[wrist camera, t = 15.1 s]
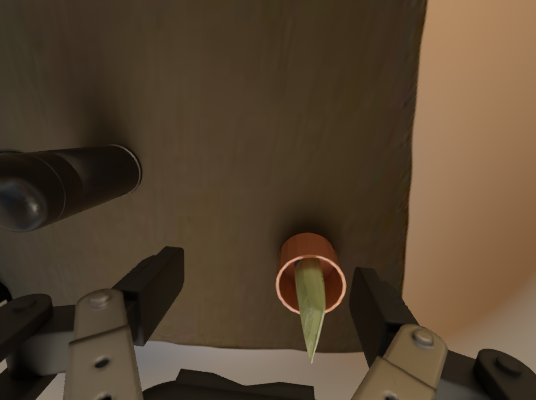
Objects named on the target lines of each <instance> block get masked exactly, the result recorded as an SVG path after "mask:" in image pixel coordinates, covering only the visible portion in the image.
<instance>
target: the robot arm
mask: <svg viewBox="0 0 536 400" xmlns="http://www.w3.org/2000/svg"><path fill="white" fill-rule="evenodd" d="M141 178H142V170H141V165H140V163H139V161H138V159H137V157H136V156H135V155H134V154H133V153H132V152H131V151H130V150H129V149H127V148H126V147H123V146H121V145H116V144H110V145H104V146H93V147H82V148H71V149H60V150H49V151H38V152H28V153H12V152H0V228H2V229H5V230H8V231H13V232H29V231H33V230H36V229H39V228H42V227H44V226H47V225H49V224H52V223H54V222H57V221H59V220H62V219H64V218H67V217H69V216H72V215H74V214H77V213H79V212H82V211H84V210H87V209H89V208H92V207H95V206H97V205H100V204H102V203H105V202H107V201H110V200H112V199H115V198H116V199H117V197H120V196H122V195H123V196H124V195H126V194H129V193H131V192H133V191H134V190H135V189H136V188H137V187H138V186H139V184H140V182H141ZM183 283H184V250H183V248H179V247H169V246H166V247H164V248H163V249H162V250H161V251H160V252H159V253H158V254H157V255H156V256H155V255H153V256H150V257H148V258H146V259H144V260H142V261H141V262H140V263H139V264H138V265H137V266H136V268H133V269H132V270H131V271H130V273H128V274H127V275H126V276H124V277H123V278H122V279H121V280H120V281H119V282H118V283H117V284H115V285H114V286H113V287H112V288H111V289H101V290H97V291H93V292H91V293H89V294H87V295H85V296H83V297H82V298H81V299H80V300H79V301H78V302H77V304H76V305H67V306H56V307H53V306H52V300H51V297H50V296H49V295H46V294H31V295H26V296H22V297H19V298H16V299H14V300H11V301H9V302H7V303H6V304H4V305H2V306H1V307H0V362H2V361H3V360H4V359H6V362H7V368H6V369H5V370H4V371H3V372H2V373H1V374H0V400H36V398H37V397H38V396H39V395H40V394H41V393H42V392H43V390H44V389H45V388H46V387H47V386H48V385H49V384H50V382H51V381H52V380H53V379H54V378H55V377H56V375H57V374H58V373H65V372H66V375H65V385H64V395H63V400H315V398H314V387H313V386H307V385H299V384H292V383H284V382H276V383H267V384H259V385H250V386H245V385H241V384H238V383H236V382H234V381H231V380H229V379H226V378H224V377H221V376H219V375H217V374H214V373H209V372H202V371H193V370H187V369H181V370H180V372H179V374H178V376H177V378H176V381H169V382H165V383H161V384H158V385H156V386H153V387H151V388H148V389H146V390H144V391H143V392H142V389H141V383H140V378H139V373H138V367H137V362H136V356H135V351H134V345H136V346H144V345H145V344H146V342H147V341H148V339H149V338H150V336H151V335H152V333H153V332H154V330H155V329H156V327H157V326H158V324H159V323H160V321H161V320H162V318H163V317H164V315H165V314H166V312H167V311H168V309H169V308H170V306H171V305H172V303H173V302H174V300H175V299H176V297H177V296H178V294H179V293H180V291H181V289H182V287H183ZM349 307H350V312H351V315H352V318H353V321H354V324H355V327H356V330H357V333H358V336H359V339H360V342H361V345H362V348H363V351H364V355H365V358H366V360H367V364H368V366H369V371H368V372H367V374H366V376H365V377H364V379H363V381H362V382H361V384H360V385H359V387H358V389H357V390H356V392H355V393H354V395H353V397H352V399H351V400H536V374H535V373H534V372H533V371H532V370H531V369H530V368H529V367H527V366H526V365H525V364H523V363H522V362H521V361H519V360H517V359H516V358H514V357H512V356H510V355H508V354H506V353H503V352H501V351H497V350H494V349H482V350H480V351H479V352H478V355H477V358H476V359H473V358H470V357H467V356H464V355H461V354H458V353H455V352H453V351H450V350H448V348H447V345H446V343H445V342H444V341H443V340H442V339H441V338H440V337H439V336H438V335H437V334H436V333H434V332H433V331H431V330H429V329H427V328H425V327H422V326H420V325H419V324H418V322H417V321H416V319H415V318H414V316H413V315H412V313H411V312H410V310H409V309H408V307H407V306H406V305H405V303H404V301H403V300H402V298H401V297H400V295H399V294H398V292H397V290H396V289H395V288H394V287H393V286H391V285H390V284H389V283H387V282H386V281H381V280H380V278H379V276H378V275H377V273H376V271H375V270H374V269H371V268H361V267H356V268H355V271H354V276H353V281H352V287H351V292H350V298H349Z"/></svg>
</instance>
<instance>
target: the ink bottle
mask: <svg viewBox="0 0 536 400" xmlns="http://www.w3.org/2000/svg"><path fill="white" fill-rule="evenodd" d="M9 301H11V299H10V296H9V294H8V292H7V291H6V290H5V288H4V287H3V286H2V285H0V307H1V306H2V305H4V304H6V303H7V302H9Z"/></svg>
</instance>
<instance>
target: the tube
mask: <svg viewBox="0 0 536 400" xmlns="http://www.w3.org/2000/svg"><path fill="white" fill-rule="evenodd" d="M294 273H295V282H296V290H297V297H298V304H299V310H300V316H301V321H302V327H303V332H304V337H305V342H306V346H307V350H308V354H309V357H310V360H311V363H312V361H313V356H314V353H315V350H316V347H317V343H318V340H319V336H320V332H321V327H322V323H323V319H324V314H325V287H324V280H323V273H322V268H321V262H320V258H310V257H308V258H303V259H298V260H296V261H294Z"/></svg>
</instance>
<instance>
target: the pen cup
mask: <svg viewBox="0 0 536 400" xmlns="http://www.w3.org/2000/svg"><path fill="white" fill-rule="evenodd" d="M308 257H310V258H320V262H321V268H322V273H323V280H324V287H325V313H327V312H329V311H331V310H333V309H334V308H335V307H336V306H337V305H338V304H340V302H341V300H342V298H343V297H344V295H345V289H346V281H345V277H344V273H343V271H342V268H341V265H340V262H339V260H338V257H337V254H336V252H335V250H334V248H333V246H332V245H331V243H330V242H329V241H328V240H327V239H325V238H324V237H322V236H320V235H318V234H314V233H301V234H297V235H294V236H292V237H291V238H289V239H288V240H287V241H286V242H285V243H284V244H283V246H282V247H281V249H280V252H279V256H278V267H277V277H276V290H277V294H278V297H279V298H280V300H281V301H282V303H283V304H284V305H285V306H286V307H287V308H289V309H290V310H291V311H293V312H296V313H298V314H300V310H299V304H298V297H297V290H296V282H295V273H294V261H296V260H298V259H303V258H308Z"/></svg>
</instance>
